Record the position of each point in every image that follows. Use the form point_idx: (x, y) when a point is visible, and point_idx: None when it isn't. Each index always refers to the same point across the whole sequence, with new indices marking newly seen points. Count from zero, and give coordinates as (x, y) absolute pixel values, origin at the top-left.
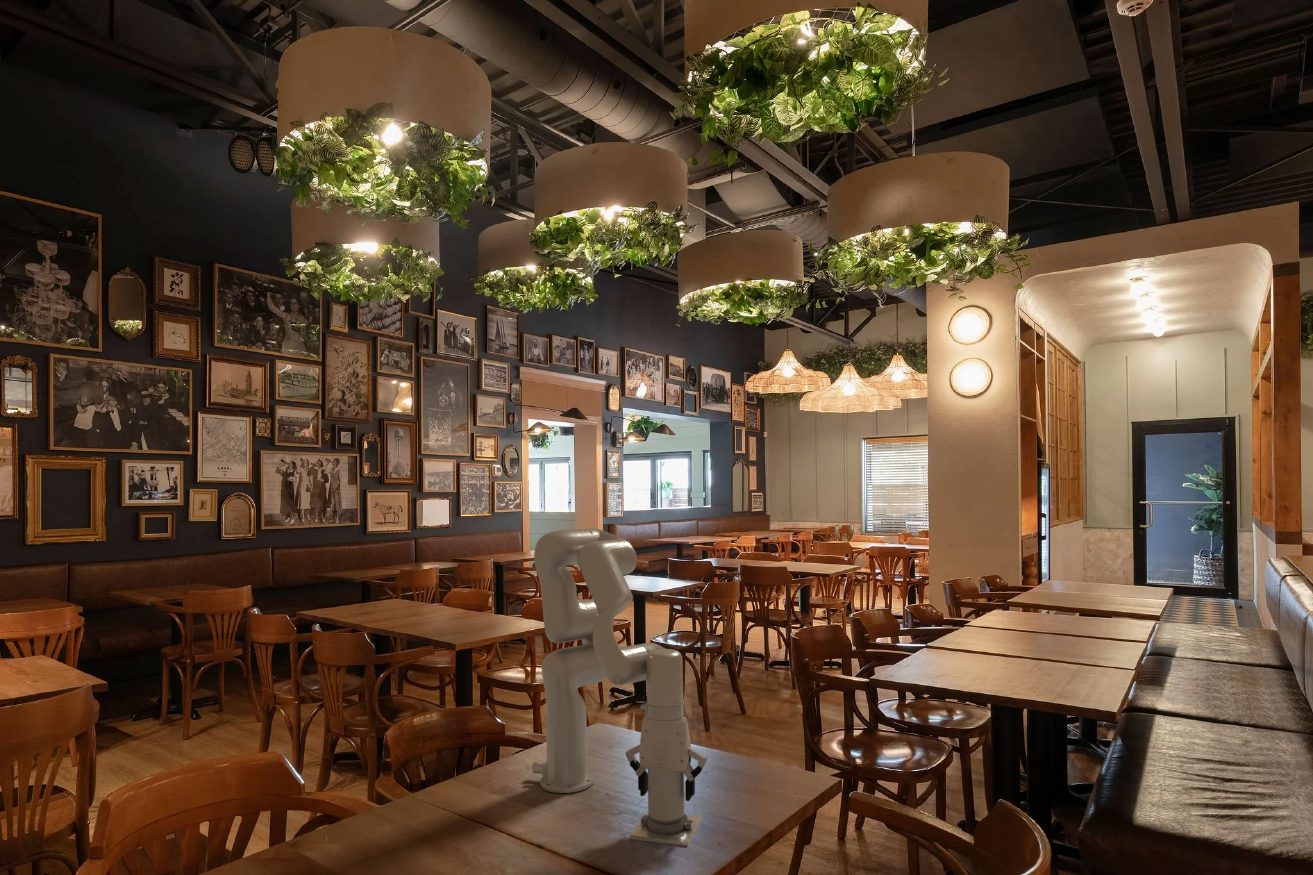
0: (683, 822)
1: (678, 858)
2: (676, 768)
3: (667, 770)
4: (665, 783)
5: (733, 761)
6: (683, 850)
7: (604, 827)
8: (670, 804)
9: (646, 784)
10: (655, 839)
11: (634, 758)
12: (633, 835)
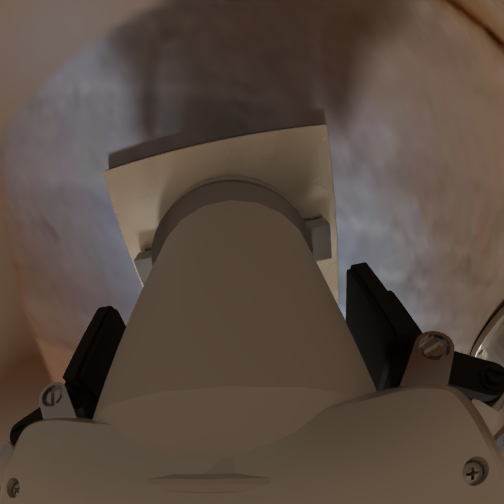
0: (153, 254)
1: (96, 79)
2: (58, 438)
3: (132, 422)
4: (161, 316)
5: None
6: (106, 134)
7: (425, 177)
8: (167, 252)
9: (359, 335)
10: (221, 139)
11: (490, 419)
12: (312, 126)
